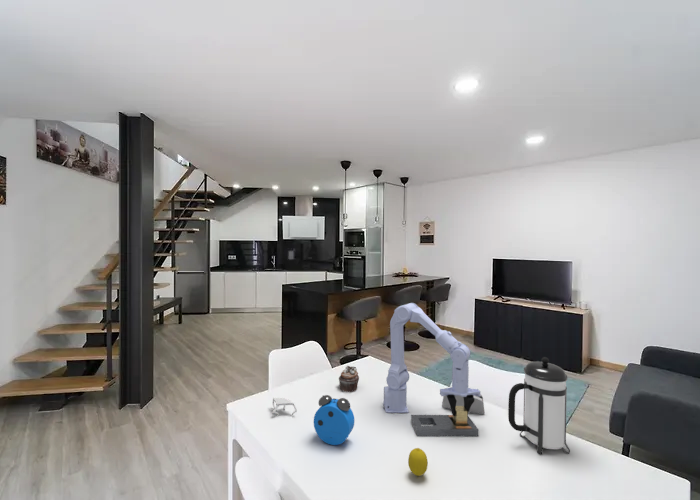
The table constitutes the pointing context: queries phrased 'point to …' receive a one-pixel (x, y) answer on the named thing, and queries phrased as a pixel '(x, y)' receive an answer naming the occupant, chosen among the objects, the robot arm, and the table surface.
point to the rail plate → (442, 426)
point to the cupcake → (349, 379)
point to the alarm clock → (333, 420)
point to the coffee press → (542, 405)
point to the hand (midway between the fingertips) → (459, 414)
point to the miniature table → (282, 402)
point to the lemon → (417, 462)
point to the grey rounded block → (475, 407)
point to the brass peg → (460, 416)
